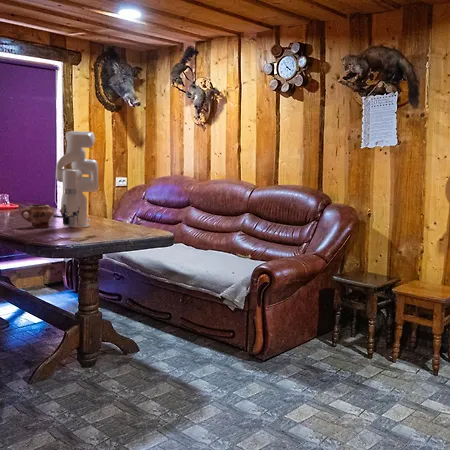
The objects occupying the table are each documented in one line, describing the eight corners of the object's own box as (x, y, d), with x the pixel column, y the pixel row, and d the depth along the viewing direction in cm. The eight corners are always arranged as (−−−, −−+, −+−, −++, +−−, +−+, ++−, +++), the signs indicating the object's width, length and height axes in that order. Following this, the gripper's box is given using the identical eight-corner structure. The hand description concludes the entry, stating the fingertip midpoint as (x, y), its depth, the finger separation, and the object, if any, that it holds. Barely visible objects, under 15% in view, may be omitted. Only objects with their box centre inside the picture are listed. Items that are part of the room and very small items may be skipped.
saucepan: (79, 224, 294) (79, 215, 293) (71, 226, 287) (71, 217, 286) (57, 223, 299) (57, 214, 298) (49, 224, 292) (49, 215, 291)
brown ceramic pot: (25, 229, 315) (25, 206, 313) (17, 227, 323) (17, 204, 321) (57, 227, 328) (57, 205, 326) (48, 224, 337) (48, 203, 335)
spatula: (90, 235, 298) (89, 234, 297) (98, 236, 296) (98, 235, 296) (70, 240, 281) (70, 238, 281) (79, 241, 279) (79, 239, 279)
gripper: (73, 190, 299) (74, 221, 301) (54, 192, 282) (54, 224, 285) (85, 191, 296) (85, 222, 298) (65, 193, 280) (66, 225, 282)
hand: (70, 223), depth 291 cm, fingers closed on saucepan, 7 cm apart
